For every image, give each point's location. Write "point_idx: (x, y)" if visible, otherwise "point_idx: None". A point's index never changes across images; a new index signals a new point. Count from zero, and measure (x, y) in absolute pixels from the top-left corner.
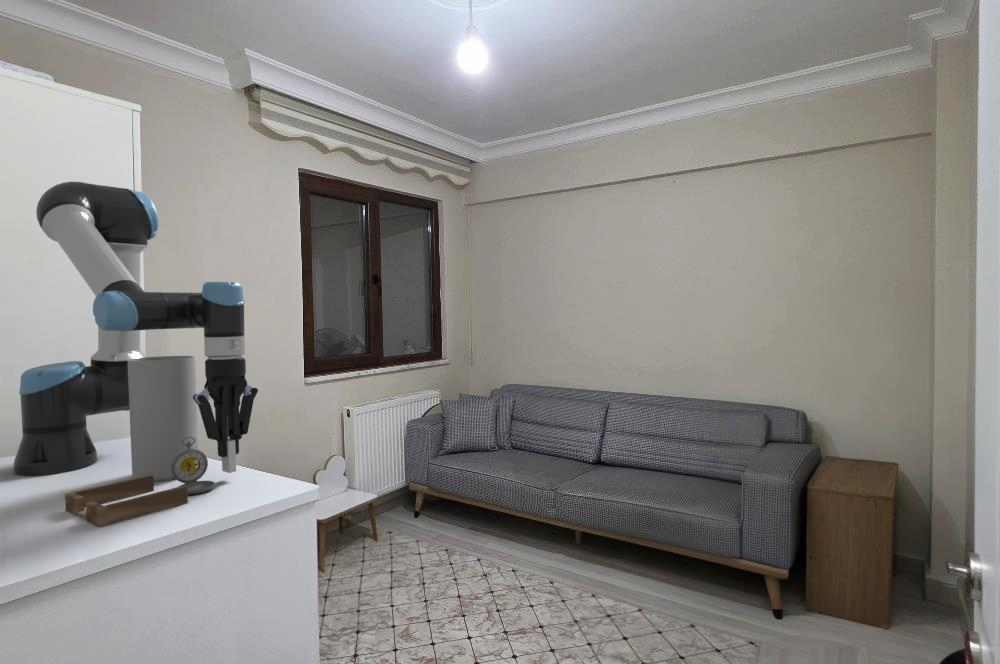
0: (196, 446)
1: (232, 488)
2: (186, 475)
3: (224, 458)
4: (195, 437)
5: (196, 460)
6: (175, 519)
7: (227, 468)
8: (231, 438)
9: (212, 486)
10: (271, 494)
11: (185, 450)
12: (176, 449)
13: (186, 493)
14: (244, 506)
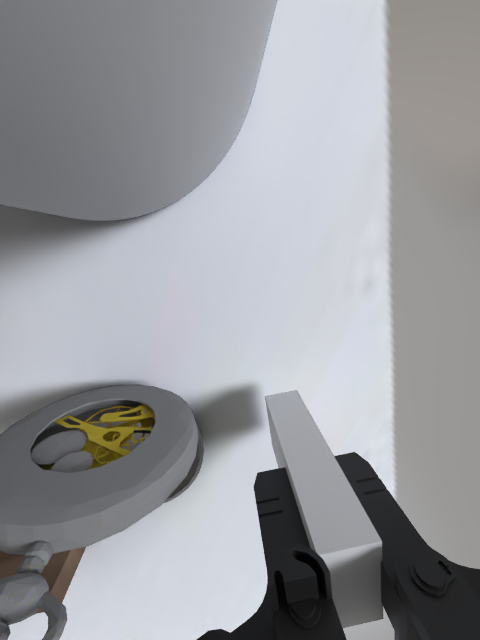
0: (235, 80)
1: (241, 492)
2: (103, 410)
3: (281, 462)
4: (231, 14)
5: (223, 141)
6: (36, 632)
7: (274, 447)
8: (385, 594)
9: (182, 490)
10: None
11: (13, 550)
12: (4, 198)
13: (69, 578)
14: (202, 634)
